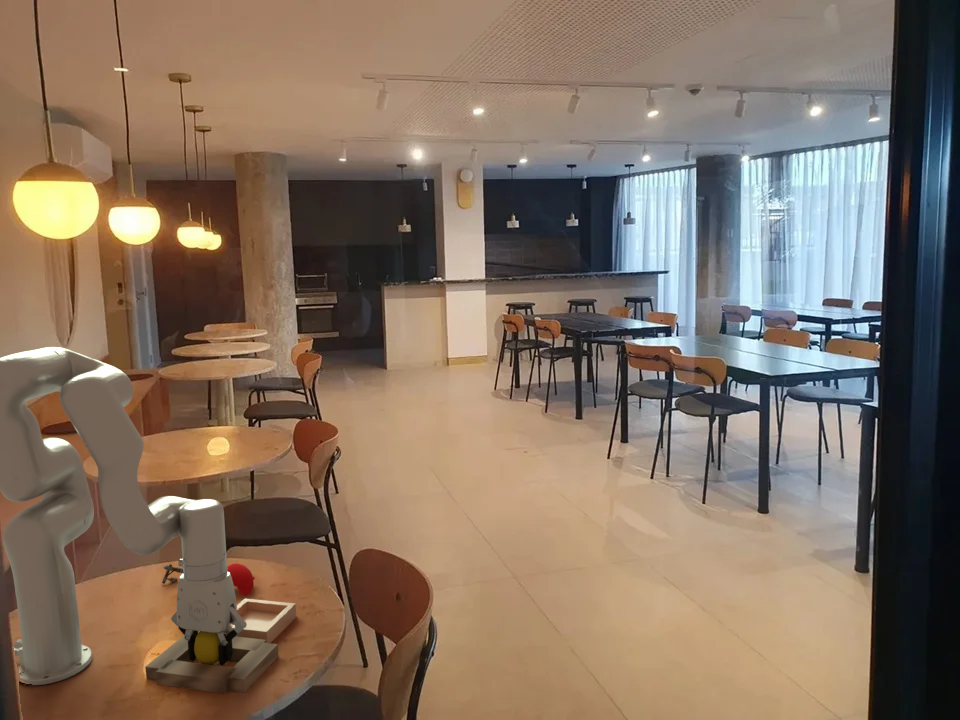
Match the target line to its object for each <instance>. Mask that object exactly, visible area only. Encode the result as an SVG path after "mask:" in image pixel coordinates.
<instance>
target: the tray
mask: <svg viewBox="0 0 960 720" xmlns="http://www.w3.org/2000/svg"><path fill="white" fill-rule="evenodd" d="M236 605H237V613H238V614H239V615H240V616H241V617H242V619H243V620H244V621H245V622H246V624H247V626H246V627H245V628H244V629H243V630H242V631H241V632H240V633H238V634H237V635H236V636H237V637H245V638H254V639H263V640H266V643H272V642H273V641H275V639H277V637H278V636H279V635H280V634H282V632H283V631H284V630H285V629H286V628H288V626H289V625H290V624H291V623H292V622H293V621H294V620H295V619H296V618H297V604H296V603H294V602H285V601H273V600H265V599H263V600H262V599H255V598H254V599H253V598H243V600H241V601H240V602H239V603H238V604H236ZM231 626H232V629H234V628H235V625H234V624H233V623H231ZM225 634H226V631H225ZM226 635H227V634H226Z"/></svg>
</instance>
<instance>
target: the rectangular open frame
mask: <svg viewBox="0 0 960 720" xmlns="http://www.w3.org/2000/svg"><path fill="white" fill-rule="evenodd" d="M184 636H185V635H184V634H183V635H182V636H181V637H180V638H179V639H178V640H176V641H175V642H174V643H172V644H171V645H170V646H168V648H167V649H165V650H164V651H162V653H161V654H159V655H158V656H157V657H155V658H154V659H153V660H151V662H149V663H148V664H147V665H146V666H144V667H145V677H146V680H149V681H156V685H158V686H167V687H174V688H181V689H188V690H195V691H197V690H198V691H203V692H204V691H205V692H211V693H216V694H217V693H219V694H225V695H226V694H228V692H239V693H246V692H247V690H248V689H250V687H251V686H253V684H255V682H256V681H257V680H259V678H260V677H261V676H262V675H263V674H264V672H266V670H267V669H268V668H269V667H270V666H271V665H272V664H273V663H274V662H275V661H276V659H278V657H279V644H278V643H272V642H271V643H266V640H263V639H254V638H245V637H237V636H235V637H234V638H233V639H232V649H233V655H232V658H231V659H230V660H229V661H238V662H237V663H236V664H234V666H232V667H231V666H225V665H215V664H214V665H209V664H202V663H200V662H194V661H190V660H189V652H188V641H187V640H185V638H184Z"/></svg>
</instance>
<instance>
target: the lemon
mask: <svg viewBox="0 0 960 720" xmlns="http://www.w3.org/2000/svg"><path fill="white" fill-rule="evenodd" d="M220 644H221V642H220V639H219V636H218V634H217V633H210V632H202V631H199V632H198V635H197V636H196V639H195V644H194V651H195V655H196V660H197V661H198V663H201V664H209V665H215V664H218V663H219V649H218V646H219V645H220Z"/></svg>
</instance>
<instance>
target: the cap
mask: <svg viewBox="0 0 960 720" xmlns="http://www.w3.org/2000/svg"><path fill="white" fill-rule="evenodd" d="M227 572H230V574H231V578H232V581H233V585H234V588H237V591H238V592H239V593H240V594H241V595H242V596H249V595H250V594H251V593H252V591H253V589H254V580H255V579H256V578H255V576H253V575H254V574H253V573H252V572H251V570H250V569H249V568H248V567H247V566H245V565H243V563H242V564H240V563H231V564H229V565H227ZM248 594H249V595H248Z"/></svg>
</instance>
